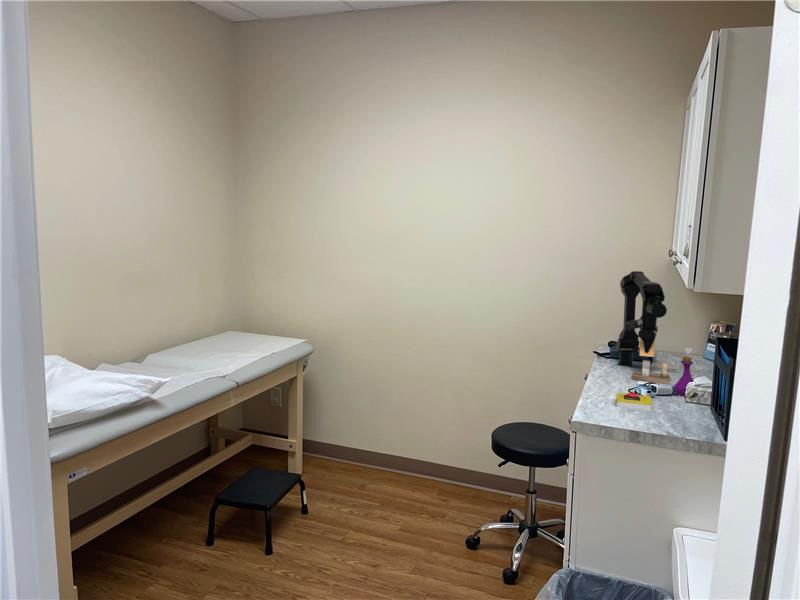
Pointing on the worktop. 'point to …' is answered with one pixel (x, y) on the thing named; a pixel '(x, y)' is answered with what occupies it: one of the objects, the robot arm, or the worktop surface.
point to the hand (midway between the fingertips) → (647, 351)
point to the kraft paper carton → (642, 350)
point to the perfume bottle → (684, 374)
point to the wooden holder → (652, 374)
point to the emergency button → (634, 402)
